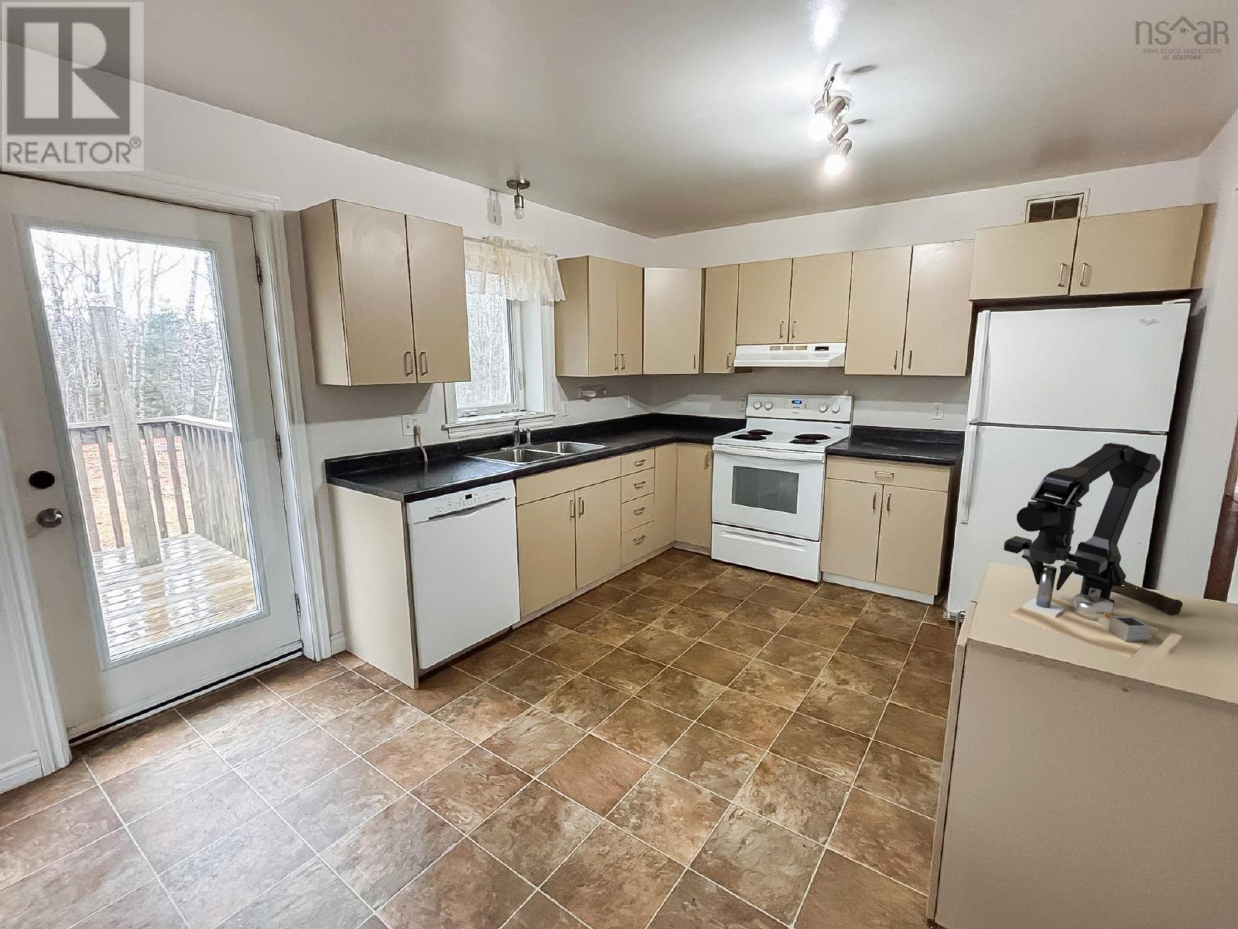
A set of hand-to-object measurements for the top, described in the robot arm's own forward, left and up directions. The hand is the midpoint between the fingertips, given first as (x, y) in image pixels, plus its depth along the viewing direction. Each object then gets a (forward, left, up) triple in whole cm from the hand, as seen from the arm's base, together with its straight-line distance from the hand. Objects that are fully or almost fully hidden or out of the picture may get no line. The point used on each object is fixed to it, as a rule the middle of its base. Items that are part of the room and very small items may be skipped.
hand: (1047, 587), depth 131 cm
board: (+1, +7, -7) cm, 10 cm away
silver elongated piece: (-2, +11, -6) cm, 13 cm away
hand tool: (-27, +9, -8) cm, 30 cm away
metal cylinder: (0, 0, -5) cm, 5 cm away
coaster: (0, 0, -6) cm, 6 cm away
